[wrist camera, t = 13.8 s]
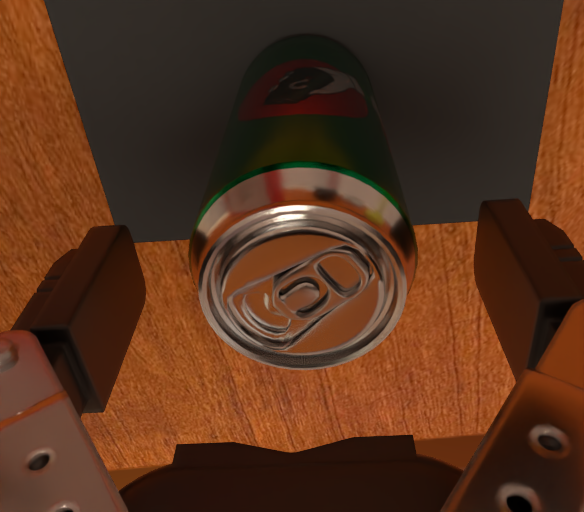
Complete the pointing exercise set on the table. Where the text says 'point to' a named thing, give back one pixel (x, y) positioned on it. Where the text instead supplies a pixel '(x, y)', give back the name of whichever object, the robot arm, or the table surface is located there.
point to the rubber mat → (327, 24)
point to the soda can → (303, 214)
